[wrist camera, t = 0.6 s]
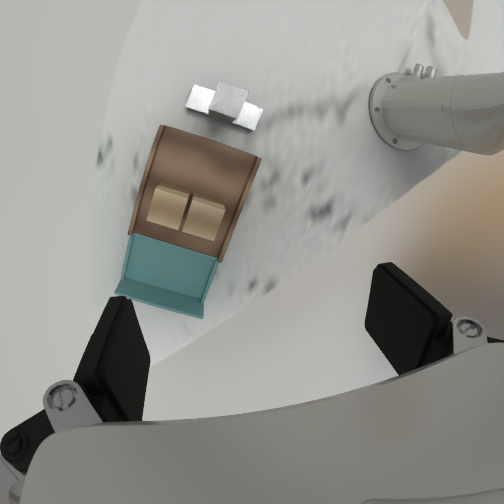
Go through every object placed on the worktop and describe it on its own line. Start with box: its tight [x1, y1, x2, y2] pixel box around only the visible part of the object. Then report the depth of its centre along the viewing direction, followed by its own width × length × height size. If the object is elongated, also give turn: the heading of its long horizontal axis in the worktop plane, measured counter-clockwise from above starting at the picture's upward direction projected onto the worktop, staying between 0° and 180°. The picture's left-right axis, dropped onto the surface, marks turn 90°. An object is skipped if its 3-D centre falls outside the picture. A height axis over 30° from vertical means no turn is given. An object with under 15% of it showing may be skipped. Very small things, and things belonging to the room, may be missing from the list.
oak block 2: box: [182, 193, 225, 241], centre depth 35 cm, size 4×4×4 cm
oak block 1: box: [147, 183, 190, 230], centre depth 34 cm, size 4×4×4 cm
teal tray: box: [114, 232, 218, 319], centre depth 39 cm, size 8×13×5 cm, turn 68°
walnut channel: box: [128, 125, 262, 263], centre depth 36 cm, size 14×13×4 cm
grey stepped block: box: [185, 82, 263, 131], centre depth 29 cm, size 3×9×10 cm, turn 68°
